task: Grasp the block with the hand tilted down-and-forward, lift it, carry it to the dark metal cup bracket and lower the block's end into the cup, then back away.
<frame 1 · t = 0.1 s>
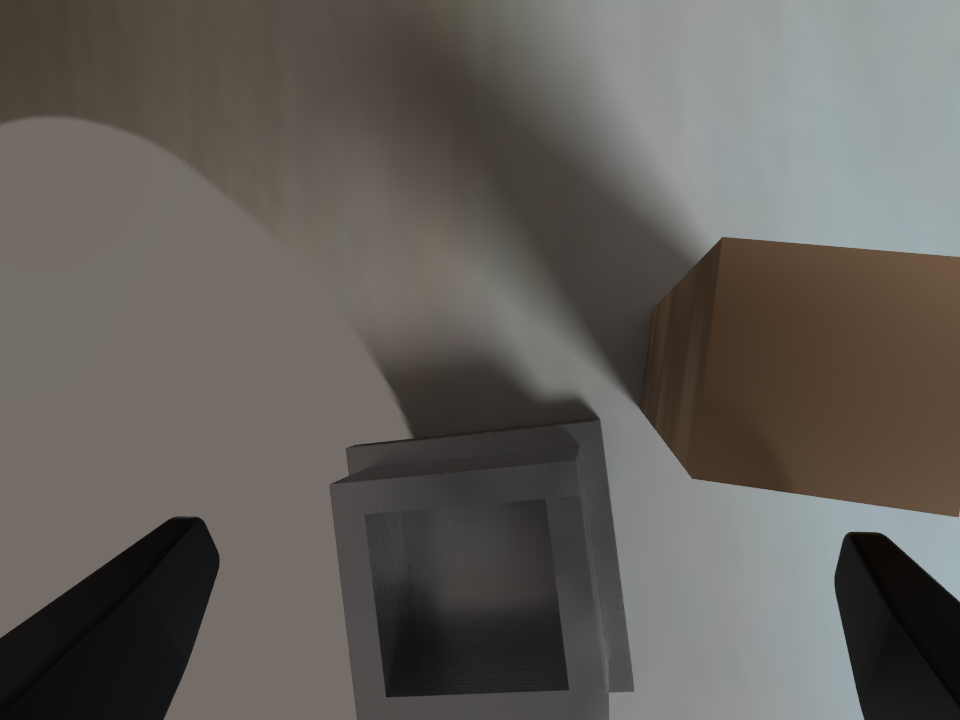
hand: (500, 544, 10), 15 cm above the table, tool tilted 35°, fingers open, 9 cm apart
block: (699, 365, 23), on the table
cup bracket: (489, 557, 25), on the table
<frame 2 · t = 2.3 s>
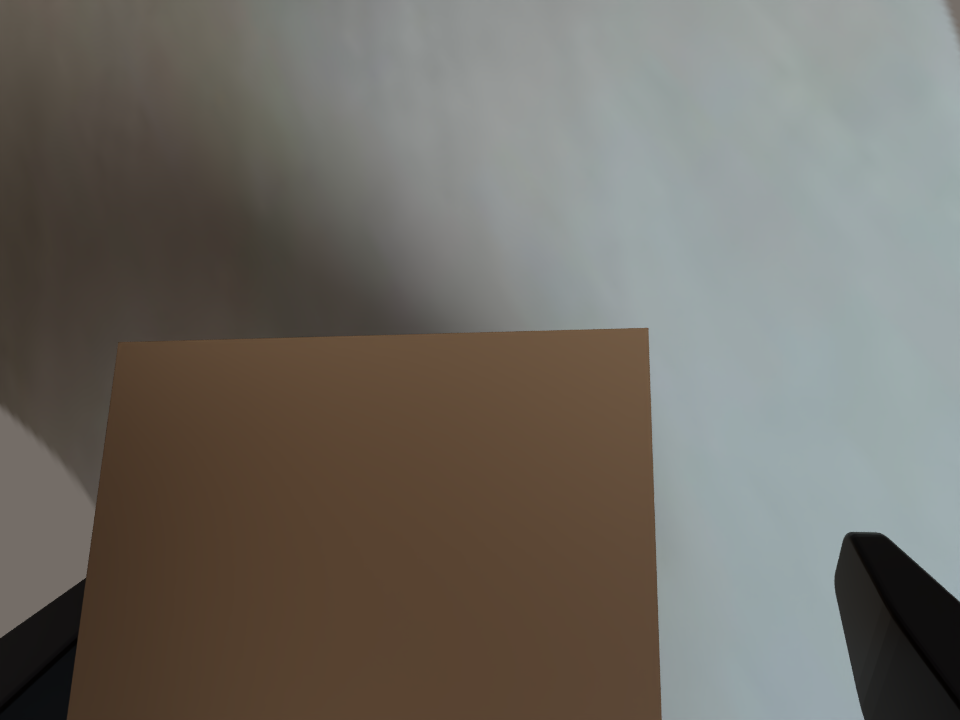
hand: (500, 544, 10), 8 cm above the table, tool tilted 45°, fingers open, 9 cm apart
block: (548, 540, 17), on the table
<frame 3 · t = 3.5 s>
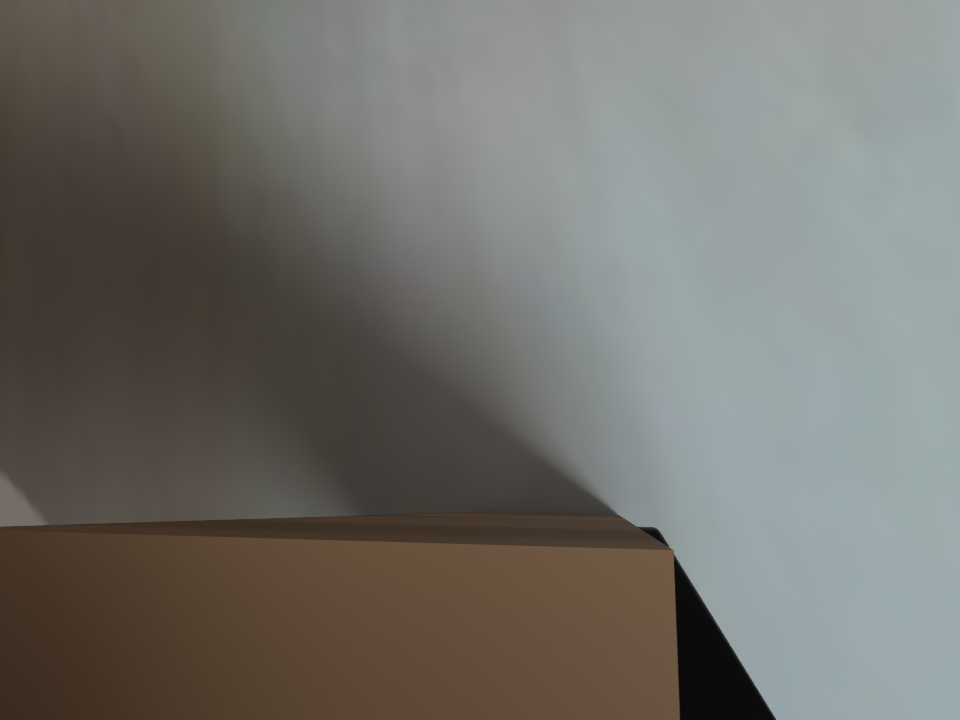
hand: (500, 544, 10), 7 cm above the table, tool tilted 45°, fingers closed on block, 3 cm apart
block: (544, 589, 16), on the table, touching gripper
when the fingers open (9 cm above the table, at t = 6.4 s): block drops 1 cm, resting on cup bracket.
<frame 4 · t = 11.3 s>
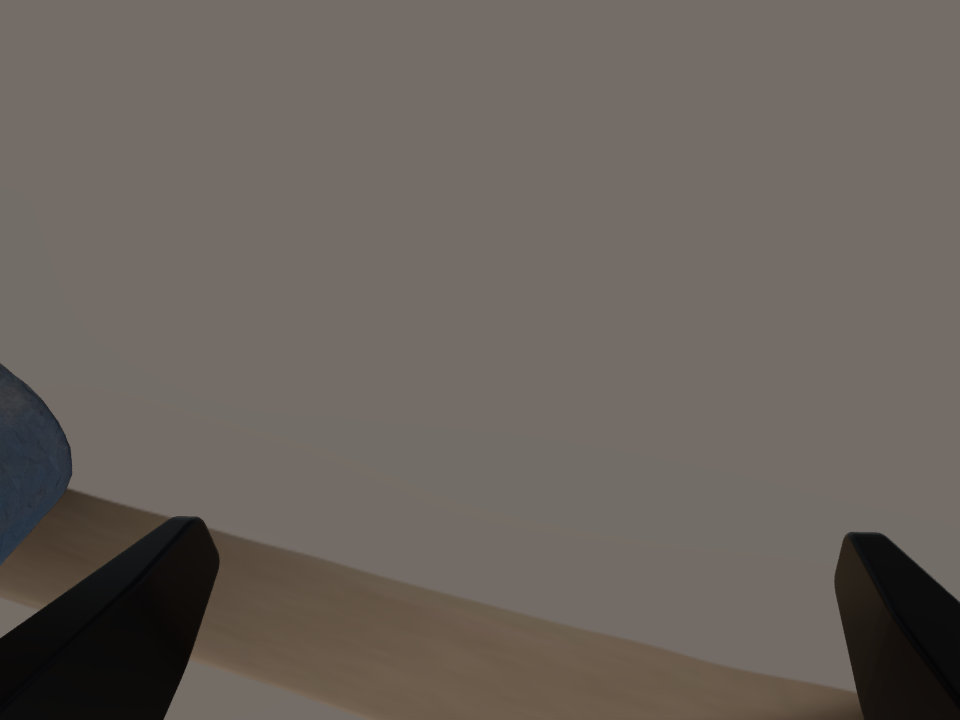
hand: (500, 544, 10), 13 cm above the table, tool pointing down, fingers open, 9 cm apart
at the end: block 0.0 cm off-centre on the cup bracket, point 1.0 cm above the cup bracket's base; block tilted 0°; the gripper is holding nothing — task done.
